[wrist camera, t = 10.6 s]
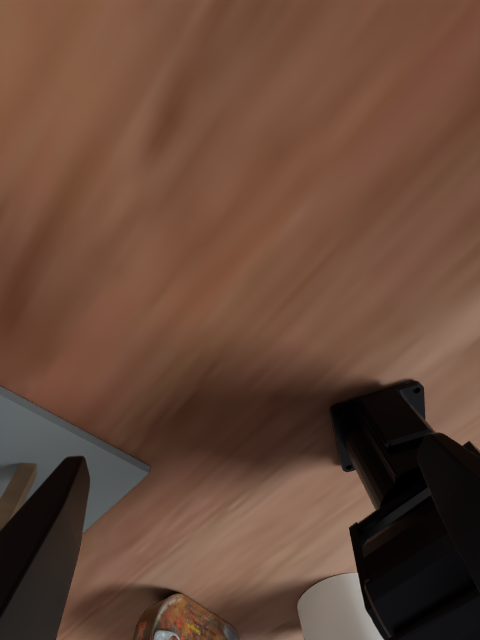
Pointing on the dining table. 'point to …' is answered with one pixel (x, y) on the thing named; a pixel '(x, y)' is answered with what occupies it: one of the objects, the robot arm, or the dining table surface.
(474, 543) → the robot arm
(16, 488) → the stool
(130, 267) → the dining table surface
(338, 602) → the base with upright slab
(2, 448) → the mat
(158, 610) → the tin
